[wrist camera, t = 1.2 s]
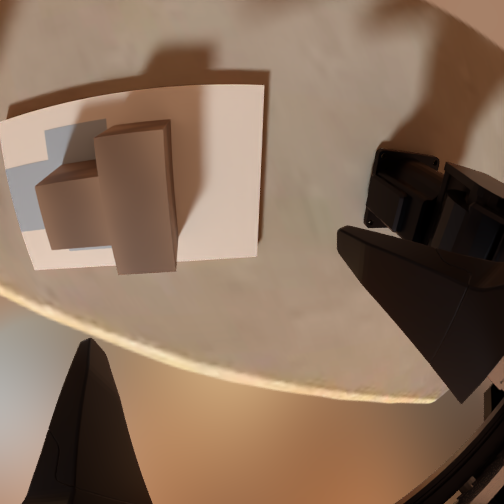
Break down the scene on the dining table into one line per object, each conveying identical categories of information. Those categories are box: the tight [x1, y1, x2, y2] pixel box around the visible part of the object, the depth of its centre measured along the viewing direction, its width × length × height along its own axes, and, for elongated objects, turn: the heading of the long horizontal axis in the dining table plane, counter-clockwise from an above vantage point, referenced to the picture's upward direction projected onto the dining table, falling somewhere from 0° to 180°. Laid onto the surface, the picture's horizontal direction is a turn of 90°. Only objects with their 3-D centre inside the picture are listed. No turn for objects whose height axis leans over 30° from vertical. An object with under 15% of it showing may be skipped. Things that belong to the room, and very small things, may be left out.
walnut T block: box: [35, 119, 179, 275], centre depth 16 cm, size 8×8×4 cm
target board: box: [0, 84, 264, 270], centre depth 18 cm, size 18×12×1 cm, turn 88°
